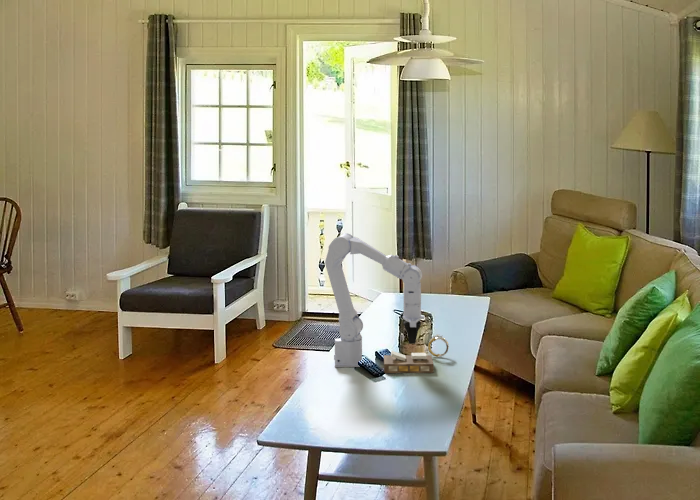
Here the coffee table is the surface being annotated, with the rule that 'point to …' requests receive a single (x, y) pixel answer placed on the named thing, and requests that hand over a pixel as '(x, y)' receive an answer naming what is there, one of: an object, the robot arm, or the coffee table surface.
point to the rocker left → (398, 355)
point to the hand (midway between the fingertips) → (411, 343)
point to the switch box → (408, 365)
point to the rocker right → (418, 355)
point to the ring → (435, 340)
